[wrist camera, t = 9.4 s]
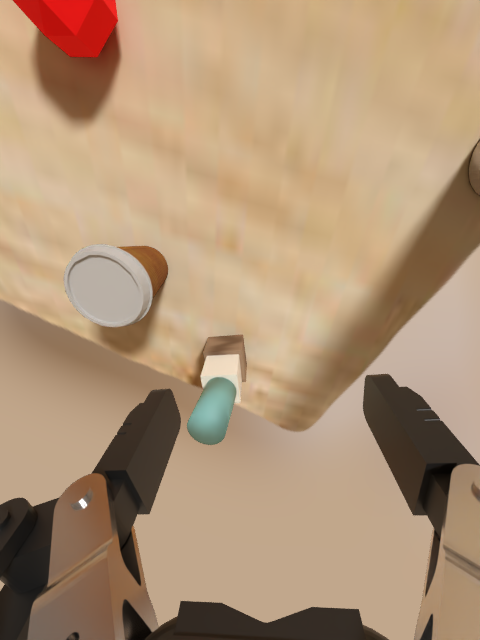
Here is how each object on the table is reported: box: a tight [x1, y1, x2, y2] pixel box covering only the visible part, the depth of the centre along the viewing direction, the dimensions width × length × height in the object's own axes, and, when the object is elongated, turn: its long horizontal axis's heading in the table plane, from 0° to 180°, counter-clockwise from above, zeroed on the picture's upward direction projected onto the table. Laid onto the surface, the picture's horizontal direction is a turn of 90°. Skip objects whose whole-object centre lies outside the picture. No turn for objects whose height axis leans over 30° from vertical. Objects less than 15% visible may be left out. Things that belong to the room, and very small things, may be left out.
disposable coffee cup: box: [64, 244, 168, 327], centre depth 32 cm, size 10×10×12 cm
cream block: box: [200, 354, 242, 403], centre depth 36 cm, size 5×5×5 cm
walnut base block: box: [203, 335, 247, 382], centre depth 40 cm, size 6×6×5 cm
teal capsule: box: [187, 377, 237, 445], centre depth 30 cm, size 4×4×7 cm
